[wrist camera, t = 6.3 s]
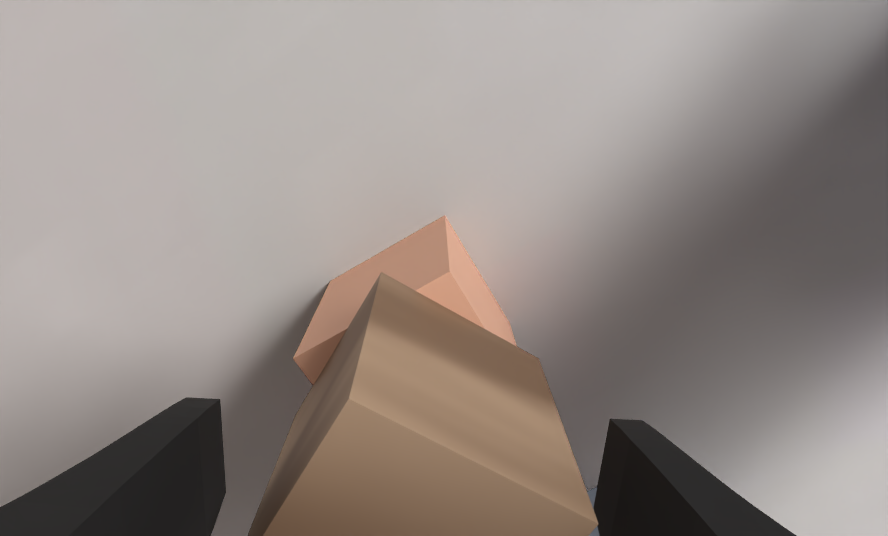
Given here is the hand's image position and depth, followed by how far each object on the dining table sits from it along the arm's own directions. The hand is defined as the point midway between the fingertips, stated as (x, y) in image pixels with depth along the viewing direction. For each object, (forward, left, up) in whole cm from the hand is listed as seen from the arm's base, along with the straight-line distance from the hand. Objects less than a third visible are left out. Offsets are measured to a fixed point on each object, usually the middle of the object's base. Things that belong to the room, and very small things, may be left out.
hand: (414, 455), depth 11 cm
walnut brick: (0, 0, -2) cm, 2 cm away
